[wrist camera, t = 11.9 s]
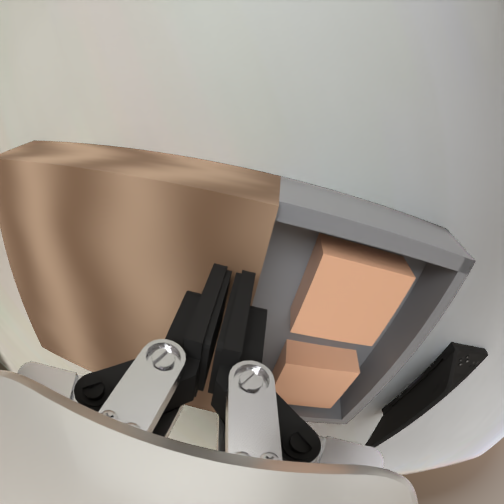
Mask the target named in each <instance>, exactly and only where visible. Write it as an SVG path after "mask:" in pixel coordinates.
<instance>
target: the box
mask: <svg viewBox="0 0 504 504" xmlns="http://www.w3.org/2000/svg"><path fill="white" fill-rule="evenodd" d="M319 233H322V234H325V235H329V236H333V237H337V238H340V239H344V240H347V241H351V242H355V243H358V244H362V245H365V246H369V247H372V248H376V249H379V250H383V251H386V252H390V253H393V254H396V255H400V256H403V257H404V259H405V260H406V262H407V264H408V265H409V267H410V269H411V270H412V272H413V274H414V276H415V277H416V279H415V280H414V282H413V284H412V286H411V287H410V289H409V291H408V292H407V294H406V296H405V297H404V299H403V301H402V302H401V304H400V305H399V307H398V309H397V310H396V312H395V313H394V315H393V316H392V318H391V319H390V321H389V322H388V324H387V325H386V327H385V328H384V330H383V331H382V333H381V334H380V336H379V337H378V338H377V340H376V341H375V343H374V344H373V345H372V346H366V345H360V344H353V343H347V342H341V341H335V340H329V339H323V338H318V337H312V336H307V335H302V334H297V333H292V332H290V309H291V305H292V303H293V300H294V298H295V295H296V293H297V290H298V288H299V285H300V282H301V280H302V277H303V275H304V272H305V270H306V267H307V264H308V262H309V259H310V256H311V254H312V251H313V248H314V246H315V243H316V240H317V237H318V235H319ZM474 263H475V260H474V259H473V257H472V256H471V255H470V254H469V253H468V252H467V251H466V249H465V248H464V247H463V246H462V245H461V244H460V243H459V242H458V241H457V240H456V238H455V237H454V236H453V235H452V234H451V233H450V232H449V231H448V230H447V229H446V228H443V227H441V226H438V225H435V224H433V223H430V222H428V221H425V220H422V219H419V218H417V217H414V216H411V215H408V214H406V213H403V212H400V211H397V210H394V209H391V208H388V207H385V206H382V205H379V204H376V203H373V202H370V201H367V200H364V199H361V198H357V197H354V196H351V195H347V194H344V193H341V192H337V191H334V190H330V189H327V188H323V187H320V186H316V185H312V184H309V183H305V182H301V181H297V180H293V179H290V178H286V177H281V181H280V196H279V207H278V211H277V215H276V219H275V222H274V226H273V230H272V234H271V237H270V241H269V245H268V248H267V252H266V256H265V260H264V263H263V267H262V271H261V274H260V278H259V281H258V285H257V289H256V292H255V296H254V299H253V303H252V306H254V307H259V308H263V309H267V322H266V331H265V340H264V349H263V358H262V364H263V365H265V366H266V367H267V368H269V369H270V371H271V372H272V371H273V369H274V367H275V365H276V362H277V360H278V358H279V356H280V353H281V351H282V349H283V346H284V344H285V342H286V339H289V340H295V341H300V342H306V343H312V344H318V345H325V346H331V347H338V348H345V349H352V350H356V352H357V358H358V363H359V369H360V374H359V375H358V376H357V378H356V379H355V380H354V381H353V383H352V384H351V385H350V386H349V387H348V389H347V390H346V391H345V392H344V393H343V395H342V396H341V397H340V398H339V399H338V400H337V402H336V403H335V404H334V405H333V406H332V407H331V408H318V407H308V406H299V405H291V404H288V405H289V406H290V407H291V408H292V409H293V410H294V411H295V412H296V413H297V414H298V415H299V416H300V417H301V418H302V419H303V420H304V421H307V422H319V423H333V424H347V423H348V422H349V421H350V420H351V419H352V418H353V417H355V416H356V415H357V414H358V413H359V412H360V411H361V410H362V409H363V408H364V407H365V406H366V405H367V404H368V403H369V402H370V401H371V400H372V399H373V398H374V397H375V396H376V395H377V394H378V393H379V392H380V391H381V390H382V389H383V388H384V387H385V386H386V385H387V383H388V382H389V381H390V380H391V379H392V378H393V377H394V376H395V375H396V374H397V372H398V371H399V370H400V369H401V368H402V367H403V366H404V364H405V363H406V362H407V361H408V360H409V358H410V357H411V356H412V355H413V354H414V352H415V351H416V350H417V349H418V347H419V346H420V345H421V344H422V342H423V341H424V340H425V338H426V337H427V336H428V334H429V333H430V332H431V330H432V329H433V328H434V326H435V325H436V323H437V322H438V321H439V319H440V318H441V316H442V315H443V314H444V312H445V311H446V309H447V308H448V306H449V305H450V303H451V302H452V300H453V298H454V297H455V295H456V294H457V292H458V291H459V289H460V287H461V286H462V284H463V282H464V281H465V279H466V277H467V276H468V274H469V272H470V270H471V269H472V267H473V265H474Z"/></svg>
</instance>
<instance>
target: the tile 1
mask: <svg viewBox="0 0 504 504" xmlns="http://www.w3.org/2000/svg"><path fill="white" fill-rule="evenodd" d="M272 374H273V376H274V380H275V390H276V392H277V393H278V395H279V396H280V397H281V398H282V399H283V400H284V401H285V402H286V403H287V404H291V405H299V406H308V407H318V408H331V407H332V406H333V405H334V404H335V403H336V402H337V400H338V399H339V398H340V397H341V396H342V395H343V393H344V392H345V391H346V390H347V389H348V387H349V386H350V385H351V384H352V383H353V381H354V380H355V379H356V378H357V376H358V375H359V374H360V369H359V363H358V358H357V352H356V350H352V349H345V348H338V347H331V346H325V345H318V344H312V343H306V342H300V341H295V340H289V339H286V342H285V344H284V346H283V349H282V351H281V353H280V356H279V358H278V360H277V362H276V365H275V367H274V369H273V371H272Z"/></svg>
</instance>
